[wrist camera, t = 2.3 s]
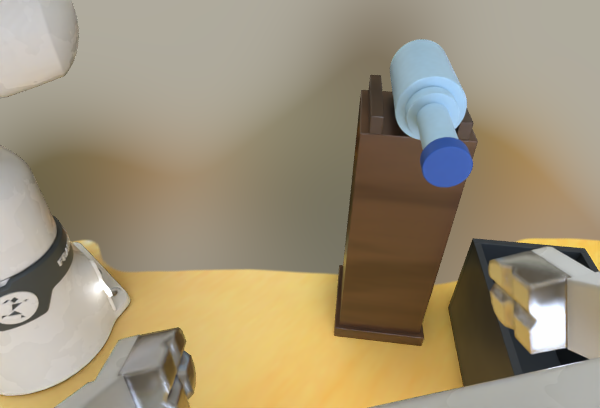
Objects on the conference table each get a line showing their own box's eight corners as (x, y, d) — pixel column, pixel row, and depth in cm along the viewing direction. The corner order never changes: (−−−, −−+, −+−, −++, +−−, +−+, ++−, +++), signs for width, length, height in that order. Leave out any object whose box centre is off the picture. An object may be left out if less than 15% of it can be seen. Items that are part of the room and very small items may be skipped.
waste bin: (634, 534, 33) (726, 479, 26) (488, 512, 34) (538, 453, 27) (544, 317, 50) (585, 248, 43) (448, 307, 51) (472, 238, 44)
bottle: (471, 210, 25) (510, 139, 22) (391, 193, 25) (419, 120, 22) (435, 99, 38) (456, 45, 35) (383, 88, 38) (399, 33, 35)
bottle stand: (421, 346, 47) (492, 126, 30) (333, 335, 48) (355, 118, 31) (413, 280, 54) (466, 77, 38) (338, 272, 55) (357, 72, 39)
